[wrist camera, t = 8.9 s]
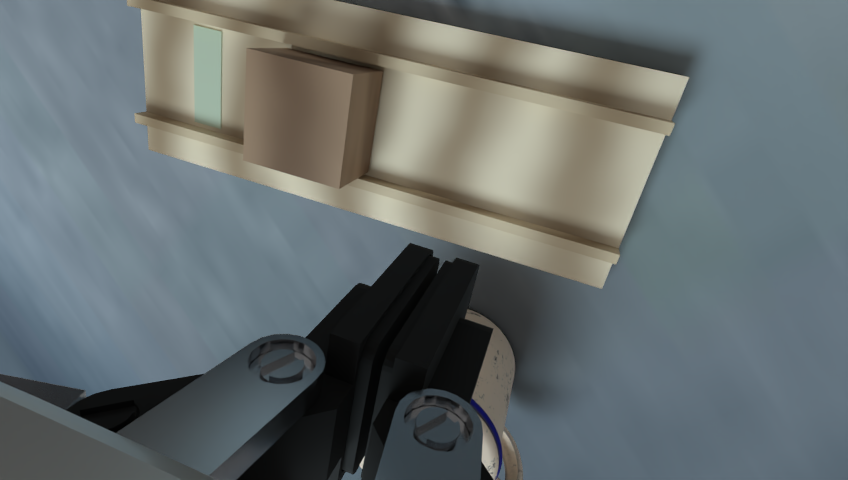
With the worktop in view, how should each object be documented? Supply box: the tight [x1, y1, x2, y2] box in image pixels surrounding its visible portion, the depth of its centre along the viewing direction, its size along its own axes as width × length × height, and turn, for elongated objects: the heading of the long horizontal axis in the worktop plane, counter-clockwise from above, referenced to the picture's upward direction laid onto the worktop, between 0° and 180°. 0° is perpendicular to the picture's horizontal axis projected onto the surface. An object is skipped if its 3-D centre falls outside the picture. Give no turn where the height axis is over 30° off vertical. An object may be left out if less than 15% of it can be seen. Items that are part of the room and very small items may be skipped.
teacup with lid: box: [360, 309, 523, 480], centre depth 29 cm, size 12×9×12 cm
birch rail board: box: [127, 0, 689, 289], centre depth 28 cm, size 32×12×2 cm, turn 79°
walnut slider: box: [243, 48, 383, 189], centre depth 27 cm, size 6×6×4 cm
